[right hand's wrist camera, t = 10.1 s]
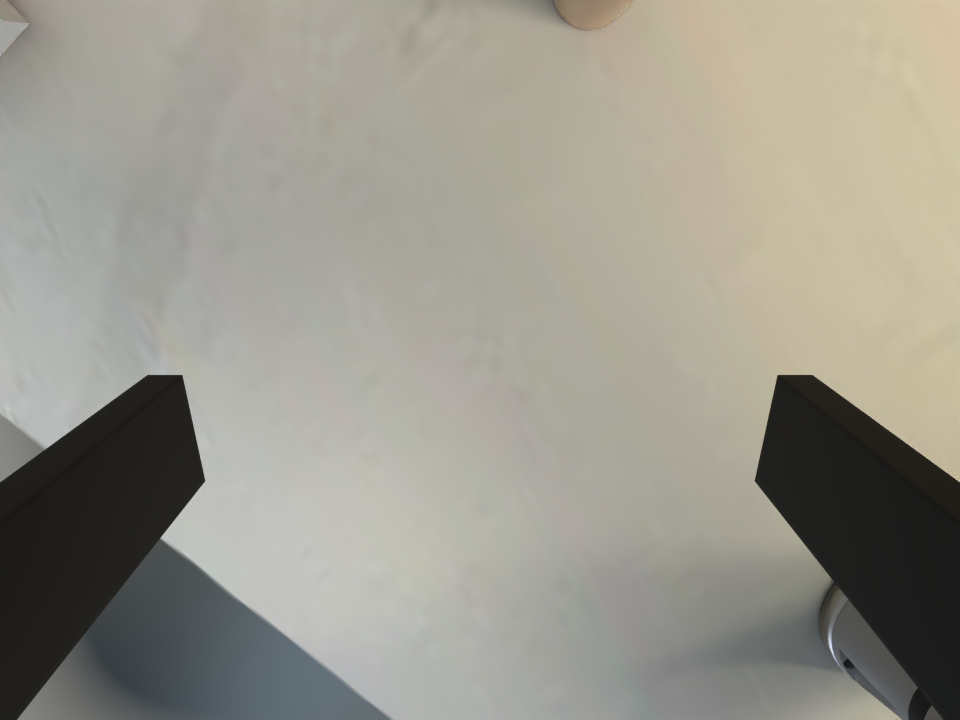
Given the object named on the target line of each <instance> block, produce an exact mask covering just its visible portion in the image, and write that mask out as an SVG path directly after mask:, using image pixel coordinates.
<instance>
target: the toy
mask: <svg viewBox="0 0 960 720" xmlns="http://www.w3.org/2000/svg"><path fill="white" fill-rule="evenodd" d="M29 24H30V23H29V22H28V21H27V20H26V19H25V18H24V17H23V16H22V15H21V14H20V13H19V12H18V11H17V10H16V9H15V8H14V7H13V6H12V5H11V4H10V3H9V2H8V1H7V0H0V56H1V55H2V54H3V53H4V52H5V51H6V49H7V48H8V47H9V46H10V45H11V44H12V43H13V42H14V41H15V40H16V38H17V37H18V36H19V35H20V34H21V33H22V32H23V31H24V30H25V29H26V27H27V26H28V25H29Z"/></svg>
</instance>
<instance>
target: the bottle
mask: <svg viewBox="0 0 960 720" xmlns="http://www.w3.org/2000/svg"><path fill="white" fill-rule="evenodd" d="M635 1H636V0H554V4H555V6H556V9H557V11H558V12H559V14H560V15H561V17H562V18H563V19H564V20H565V21H566V22H567V23H568V24H570V25H571V26H573V27H575V28H578V29H582V30H595V29H599V28H602V27H604V26H606V25H608V24H609V23H611V22H612V21H613V20H614V19H616V18H617V17H618V16H619V15H620V14H621V13H622V12H623V11H624V10H626V9H627V8H628V7H629V6H630V5H631V4H632V3H633V2H635Z"/></svg>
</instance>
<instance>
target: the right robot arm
mask: <svg viewBox="0 0 960 720" xmlns="http://www.w3.org/2000/svg"><path fill="white" fill-rule="evenodd" d="M204 482H205V478H204V473H203V468H202V464H201V459H200V455H199V450H198V445H197V441H196V436H195V431H194V427H193V422H192V418H191V413H190V408H189V404H188V399H187V394H186V390H185V385H184V381H183V376H182V375H147V376H146V377H144V378H143V379H142V380H140V381H139V382H137V383H136V384H135V385H133V386H132V387H131V388H129V389H128V390H126V391H125V392H124V393H122V394H121V395H120V396H118V397H117V398H116V399H114V400H113V401H111V402H110V403H109V404H107V405H106V406H105V407H103V408H102V409H100V410H99V411H98V412H96V413H95V414H94V415H92V416H91V417H89V418H88V419H87V420H85V421H84V422H83V423H81V424H80V425H78V426H77V427H76V428H74V429H73V430H72V431H70V432H69V433H67V434H66V435H65V436H63V437H62V438H61V439H59V440H58V441H57V442H55V443H54V444H52V445H51V446H50V447H48V448H47V449H46V450H44V451H43V452H41V453H40V454H39V455H37V456H36V457H35V458H33V459H32V460H30V461H29V462H28V463H26V464H25V465H24V466H22V467H21V468H19V469H18V470H17V471H15V472H14V473H13V474H11V475H10V476H9V477H7V478H6V479H4V480H3V481H2V482H0V720H17V719H18V718H19V716H20V715H21V714H22V712H23V711H24V710H25V709H26V707H27V706H28V705H29V704H30V702H31V701H32V700H33V699H34V697H35V696H36V695H37V693H38V692H39V691H40V690H41V688H42V687H43V686H44V685H45V683H46V682H47V681H48V680H49V678H50V677H51V676H52V674H53V673H54V672H55V671H56V669H57V668H58V667H59V666H60V664H61V663H62V662H63V660H64V659H65V658H66V657H67V655H68V654H69V653H70V652H71V650H72V649H73V648H74V647H75V645H76V644H77V643H78V642H79V640H80V639H81V638H82V636H83V635H84V634H85V633H86V631H87V630H88V629H89V627H90V626H91V625H92V624H93V623H94V621H95V620H96V619H97V617H98V616H99V615H100V614H101V612H102V611H103V610H104V609H105V607H106V606H107V605H108V604H109V602H110V601H111V600H112V598H113V597H114V596H115V595H116V593H117V592H118V591H119V590H120V588H121V587H122V586H123V585H124V583H125V582H126V581H127V579H128V578H129V577H130V576H131V574H132V573H133V572H134V570H135V569H136V568H137V567H138V565H139V564H140V563H141V562H142V560H143V559H144V558H145V557H146V555H147V554H148V553H149V552H150V550H151V549H152V548H153V547H154V545H155V544H156V543H157V541H158V540H159V539H160V538H161V536H162V535H163V534H164V533H165V531H166V530H167V529H168V528H169V526H170V525H171V524H172V522H173V521H174V520H175V519H176V517H177V516H178V515H179V514H180V512H181V511H182V510H183V509H184V507H185V506H186V505H187V503H188V502H189V501H190V500H191V498H192V497H193V496H194V495H195V493H196V492H197V491H198V489H199V488H200V487H201V486H202V484H203V483H204ZM755 482H756V483H757V484H758V486H759V487H760V488H761V489H762V491H763V492H764V493H765V495H766V496H767V497H768V498H769V500H770V501H771V502H772V503H773V505H774V506H775V507H776V509H777V510H778V511H779V512H780V514H781V515H782V516H783V517H784V519H785V520H786V521H787V522H788V524H789V525H790V526H791V528H792V529H793V530H794V531H795V533H796V534H797V535H798V536H799V538H800V539H801V540H802V541H803V543H804V544H805V545H806V547H807V548H808V549H809V550H810V552H811V553H812V554H813V555H814V557H815V558H816V559H817V560H818V562H819V563H820V564H821V566H822V567H823V568H824V569H825V571H826V572H827V573H828V574H829V576H830V577H831V578H832V579H833V581H834V582H835V583H836V584H835V585H834V586H833V588H832V589H831V591H830V592H829V594H828V596H827V598H826V599H825V602H824V604H823V606H822V610H821V614H820V625H819V626H820V633H821V637H822V639H823V642H824V644H825V646H826V647H827V649H828V650H829V652H830V653H831V655H832V656H833V658H834V659H835V661H836V662H837V664H838V665H839V666H840V667H841V669H842V670H843V671H844V672H845V673H846V674H848V675H849V676H850V677H851V678H852V679H854V680H855V681H856V682H857V683H858V684H860V685H861V686H862V687H863V688H865V689H866V690H867V691H868V692H869V693H871V694H872V695H873V696H874V697H875V698H877V699H878V700H879V701H880V702H881V703H883V704H884V705H885V706H886V707H888V708H889V709H890V710H891V711H892V712H894V713H895V714H896V715H897V716H898V717H900V718H901V719H902V720H960V482H958V481H957V480H956V479H954V478H953V477H952V476H950V475H949V474H947V473H946V472H945V471H943V470H942V469H941V468H939V467H938V466H936V465H935V464H934V463H932V462H931V461H930V460H928V459H927V458H925V457H924V456H923V455H921V454H920V453H919V452H917V451H916V450H914V449H913V448H912V447H910V446H909V445H908V444H906V443H905V442H903V441H902V440H901V439H899V438H898V437H897V436H895V435H894V434H893V433H891V432H890V431H888V430H887V429H886V428H884V427H883V426H882V425H880V424H879V423H877V422H876V421H875V420H873V419H872V418H871V417H869V416H868V415H866V414H865V413H864V412H862V411H861V410H860V409H858V408H857V407H855V406H854V405H853V404H851V403H850V402H849V401H847V400H846V399H844V398H843V397H842V396H840V395H839V394H838V393H836V392H835V391H834V390H832V389H831V388H829V387H828V386H827V385H825V384H824V383H823V382H821V381H820V380H818V379H817V378H816V377H814V376H813V375H778V376H777V381H776V385H775V390H774V394H773V399H772V404H771V408H770V413H769V418H768V422H767V427H766V431H765V436H764V441H763V445H762V450H761V455H760V459H759V464H758V468H757V473H756V478H755Z"/></svg>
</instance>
